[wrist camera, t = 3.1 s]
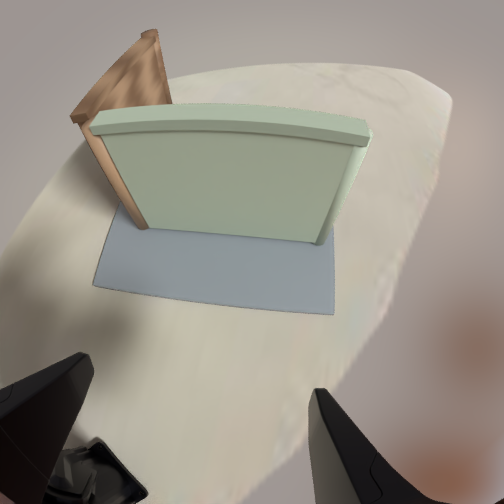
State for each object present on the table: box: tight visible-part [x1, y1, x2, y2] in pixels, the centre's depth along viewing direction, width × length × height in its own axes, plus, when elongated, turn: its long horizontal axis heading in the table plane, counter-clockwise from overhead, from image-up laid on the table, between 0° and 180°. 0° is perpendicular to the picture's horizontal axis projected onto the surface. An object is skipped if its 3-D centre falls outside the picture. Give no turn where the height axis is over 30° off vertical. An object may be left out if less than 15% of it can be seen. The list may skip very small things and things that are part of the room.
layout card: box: [93, 201, 335, 315], centre depth 29 cm, size 23×22×1 cm
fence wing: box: [81, 103, 373, 246], centre depth 20 cm, size 2×18×14 cm, turn 84°
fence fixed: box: [70, 29, 172, 213], centre depth 25 cm, size 16×2×14 cm, turn 174°
